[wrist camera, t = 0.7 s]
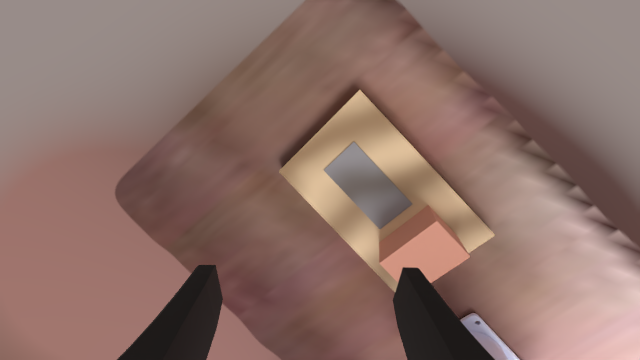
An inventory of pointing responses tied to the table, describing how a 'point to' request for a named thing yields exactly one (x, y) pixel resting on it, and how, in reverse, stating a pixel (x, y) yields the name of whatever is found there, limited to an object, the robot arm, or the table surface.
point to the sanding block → (422, 247)
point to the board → (374, 183)
